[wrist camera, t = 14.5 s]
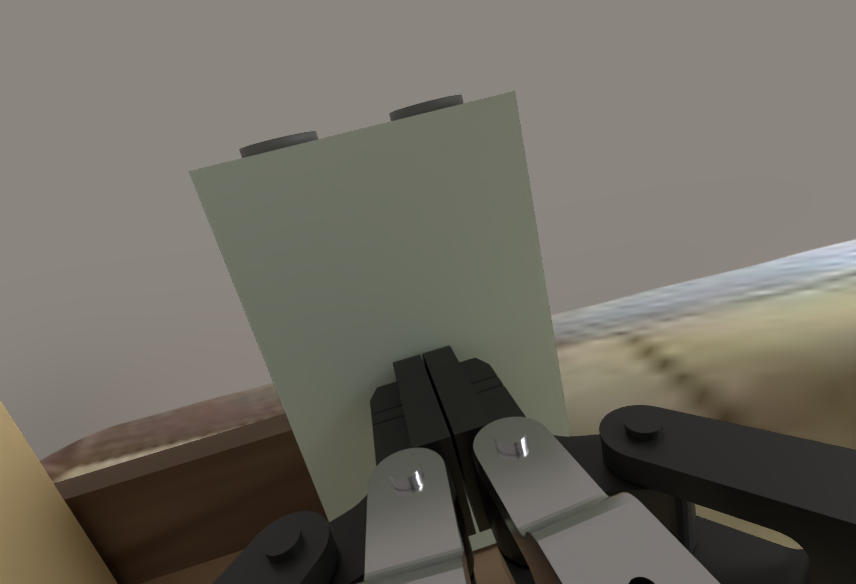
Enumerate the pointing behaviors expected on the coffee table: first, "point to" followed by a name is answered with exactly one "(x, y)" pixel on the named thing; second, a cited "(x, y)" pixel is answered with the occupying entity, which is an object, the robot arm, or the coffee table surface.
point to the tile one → (39, 522)
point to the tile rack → (203, 505)
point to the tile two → (386, 270)
